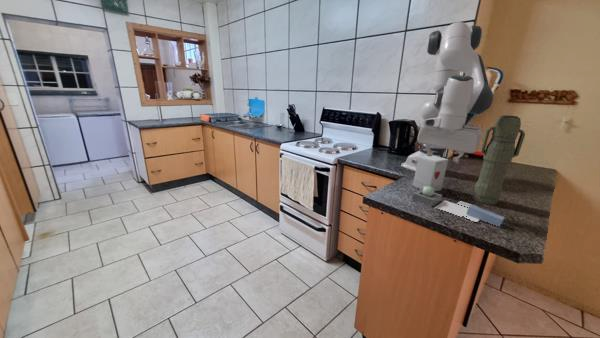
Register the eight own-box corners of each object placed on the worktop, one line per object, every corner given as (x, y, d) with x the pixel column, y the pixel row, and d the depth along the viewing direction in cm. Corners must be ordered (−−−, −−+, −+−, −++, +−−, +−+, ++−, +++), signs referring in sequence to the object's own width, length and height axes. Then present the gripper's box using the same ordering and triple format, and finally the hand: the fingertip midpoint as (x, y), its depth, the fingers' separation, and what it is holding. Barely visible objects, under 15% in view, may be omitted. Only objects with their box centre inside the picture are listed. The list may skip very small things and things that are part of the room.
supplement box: (429, 193, 107) (436, 161, 103) (412, 186, 115) (417, 156, 110) (441, 190, 111) (449, 159, 107) (424, 183, 119) (430, 154, 114)
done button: (420, 195, 100) (421, 187, 99) (424, 193, 102) (426, 185, 101) (430, 198, 97) (431, 190, 96) (434, 196, 99) (436, 188, 98)
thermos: (506, 207, 96) (536, 118, 85) (472, 202, 100) (497, 116, 88) (496, 198, 104) (523, 116, 93) (465, 193, 108) (487, 114, 96)
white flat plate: (434, 208, 94) (434, 207, 94) (444, 201, 100) (445, 200, 100) (476, 223, 84) (476, 222, 84) (485, 214, 90) (485, 213, 90)
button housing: (412, 199, 101) (413, 193, 100) (421, 195, 106) (422, 188, 105) (431, 207, 95) (433, 200, 94) (440, 201, 100) (441, 195, 99)
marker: (468, 206, 88) (502, 220, 81) (471, 204, 90) (504, 217, 82) (466, 213, 89) (499, 227, 82) (469, 211, 91) (501, 224, 84)
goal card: (456, 204, 98) (456, 203, 98) (460, 201, 100) (460, 200, 100) (473, 209, 94) (473, 208, 93) (476, 206, 96) (477, 206, 96)
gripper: (487, 126, 83) (475, 164, 87) (426, 118, 97) (419, 151, 102) (481, 128, 79) (470, 167, 84) (419, 119, 93) (412, 154, 98)
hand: (441, 158), depth 93 cm, fingers open, 8 cm apart
